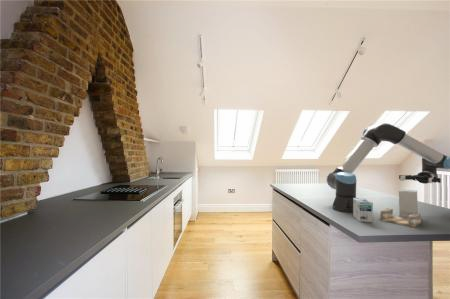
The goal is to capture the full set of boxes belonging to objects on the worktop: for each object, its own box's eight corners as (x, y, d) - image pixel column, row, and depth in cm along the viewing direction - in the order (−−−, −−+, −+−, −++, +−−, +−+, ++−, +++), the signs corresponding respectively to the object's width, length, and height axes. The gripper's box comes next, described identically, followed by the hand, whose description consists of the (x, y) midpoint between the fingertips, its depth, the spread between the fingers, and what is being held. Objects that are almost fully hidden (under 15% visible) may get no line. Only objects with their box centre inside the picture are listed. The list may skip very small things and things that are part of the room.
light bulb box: (373, 222, 122) (373, 202, 122) (359, 221, 123) (359, 201, 123) (365, 217, 132) (365, 198, 132) (352, 216, 134) (352, 197, 134)
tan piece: (379, 219, 127) (379, 210, 127) (388, 216, 134) (388, 207, 134) (413, 227, 115) (414, 217, 115) (421, 223, 122) (421, 213, 122)
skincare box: (417, 218, 132) (418, 190, 132) (417, 220, 127) (417, 192, 127) (399, 215, 138) (399, 188, 138) (398, 217, 133) (398, 190, 133)
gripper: (451, 185, 141) (442, 188, 129) (401, 181, 162) (390, 183, 149) (451, 173, 141) (442, 175, 129) (401, 170, 162) (390, 171, 149)
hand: (414, 179), depth 139 cm, fingers open, 13 cm apart
